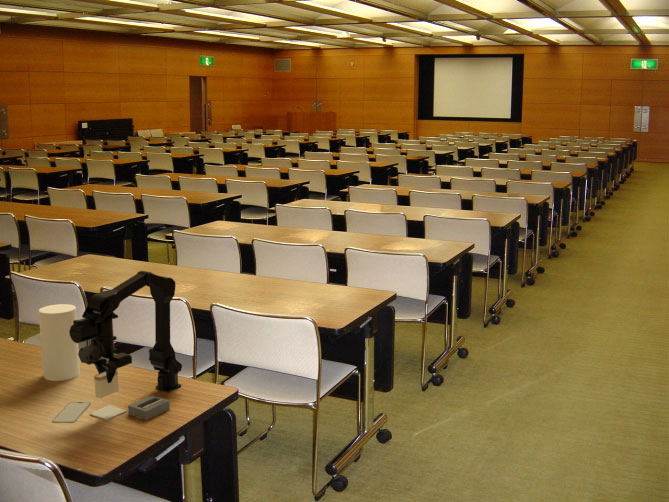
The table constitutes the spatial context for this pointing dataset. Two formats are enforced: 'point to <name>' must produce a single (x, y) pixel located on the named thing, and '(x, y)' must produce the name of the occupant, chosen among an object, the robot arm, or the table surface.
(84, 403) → the smartphone
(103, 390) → the cream rectangular block
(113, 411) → the mat
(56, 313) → the cylinder
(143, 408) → the dispenser
